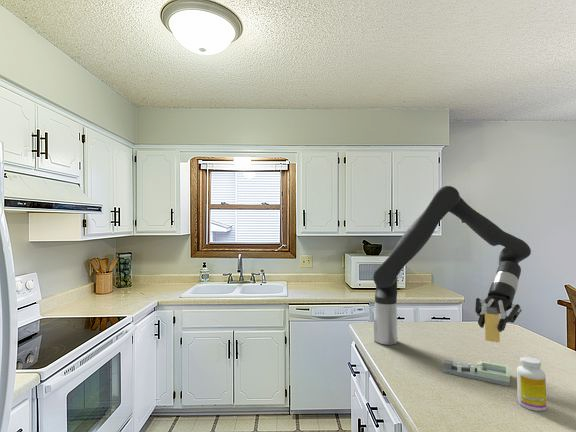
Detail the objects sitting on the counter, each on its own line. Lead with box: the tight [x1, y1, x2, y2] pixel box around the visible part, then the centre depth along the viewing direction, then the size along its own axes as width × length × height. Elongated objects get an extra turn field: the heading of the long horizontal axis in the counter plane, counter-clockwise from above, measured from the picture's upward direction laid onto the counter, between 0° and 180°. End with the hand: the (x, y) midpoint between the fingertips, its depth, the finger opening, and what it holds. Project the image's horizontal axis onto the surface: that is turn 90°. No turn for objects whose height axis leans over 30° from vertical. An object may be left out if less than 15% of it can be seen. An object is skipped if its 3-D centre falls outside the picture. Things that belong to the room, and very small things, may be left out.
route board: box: [443, 359, 511, 387], centre depth 114 cm, size 19×9×3 cm, turn 57°
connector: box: [484, 307, 501, 344], centre depth 112 cm, size 4×4×10 cm
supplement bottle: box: [516, 356, 548, 412], centre depth 94 cm, size 7×7×13 cm
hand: (490, 328), depth 111 cm, fingers closed on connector, 5 cm apart
